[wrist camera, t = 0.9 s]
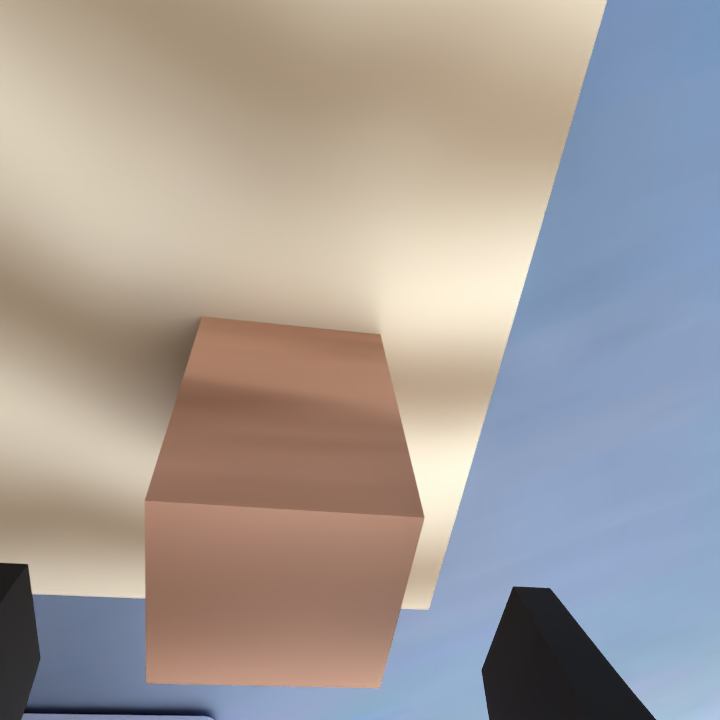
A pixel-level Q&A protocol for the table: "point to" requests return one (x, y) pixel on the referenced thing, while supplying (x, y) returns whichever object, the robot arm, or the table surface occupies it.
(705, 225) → the table surface
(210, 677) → the block
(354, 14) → the build mat
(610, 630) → the table surface
